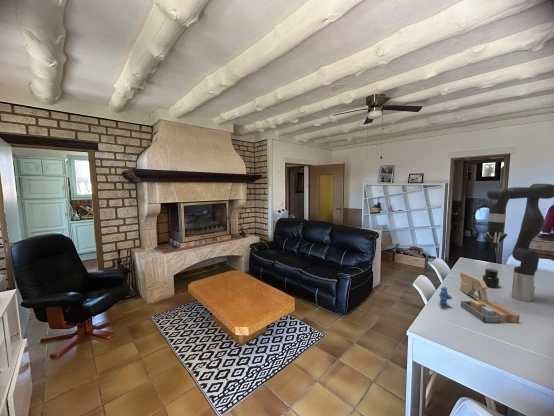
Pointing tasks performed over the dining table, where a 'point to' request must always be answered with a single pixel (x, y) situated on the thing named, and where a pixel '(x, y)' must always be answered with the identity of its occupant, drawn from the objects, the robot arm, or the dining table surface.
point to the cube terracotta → (476, 305)
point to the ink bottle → (491, 278)
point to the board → (501, 312)
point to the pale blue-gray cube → (487, 311)
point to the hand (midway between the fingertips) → (493, 248)
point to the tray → (478, 314)
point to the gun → (473, 286)
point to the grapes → (444, 296)
